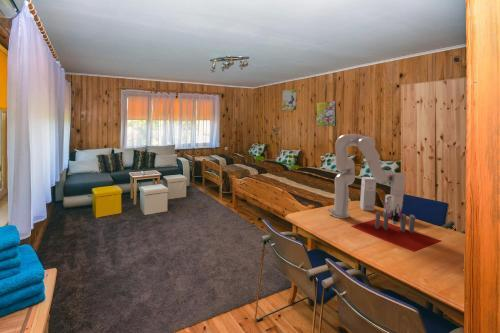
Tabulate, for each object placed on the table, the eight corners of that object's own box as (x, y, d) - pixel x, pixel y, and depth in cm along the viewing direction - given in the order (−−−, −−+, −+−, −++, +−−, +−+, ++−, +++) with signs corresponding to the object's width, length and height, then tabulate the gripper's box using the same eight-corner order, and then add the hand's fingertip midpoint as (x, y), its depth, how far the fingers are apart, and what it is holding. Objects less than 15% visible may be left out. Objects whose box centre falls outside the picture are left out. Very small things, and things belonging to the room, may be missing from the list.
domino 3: (393, 224, 182) (394, 209, 180) (392, 221, 187) (393, 207, 185) (397, 224, 181) (398, 209, 180) (395, 222, 186) (396, 207, 185)
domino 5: (410, 232, 180) (411, 217, 178) (408, 229, 185) (409, 214, 183) (413, 232, 179) (415, 217, 178) (411, 229, 184) (413, 214, 182)
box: (362, 210, 224) (365, 179, 220) (359, 207, 232) (361, 176, 228) (374, 210, 223) (376, 179, 219) (370, 207, 231) (372, 177, 227)
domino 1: (375, 228, 186) (376, 213, 184) (374, 225, 191) (376, 211, 189) (379, 228, 185) (380, 214, 184) (378, 226, 190) (379, 211, 188)
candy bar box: (385, 218, 206) (387, 196, 203) (383, 215, 211) (384, 194, 208) (401, 218, 205) (403, 196, 202) (398, 216, 209) (400, 194, 207)
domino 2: (384, 229, 184) (385, 214, 183) (383, 226, 189) (384, 212, 187) (387, 229, 184) (388, 214, 182) (386, 227, 188) (387, 212, 187)
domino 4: (401, 231, 181) (402, 216, 180) (399, 228, 186) (401, 213, 184) (404, 231, 181) (406, 216, 179) (403, 228, 186) (404, 214, 184)
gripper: (388, 189, 190) (386, 215, 193) (392, 195, 174) (390, 223, 177) (401, 189, 188) (398, 216, 191) (406, 196, 172) (404, 225, 175)
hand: (394, 219), depth 184 cm, fingers closed on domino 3, 4 cm apart
